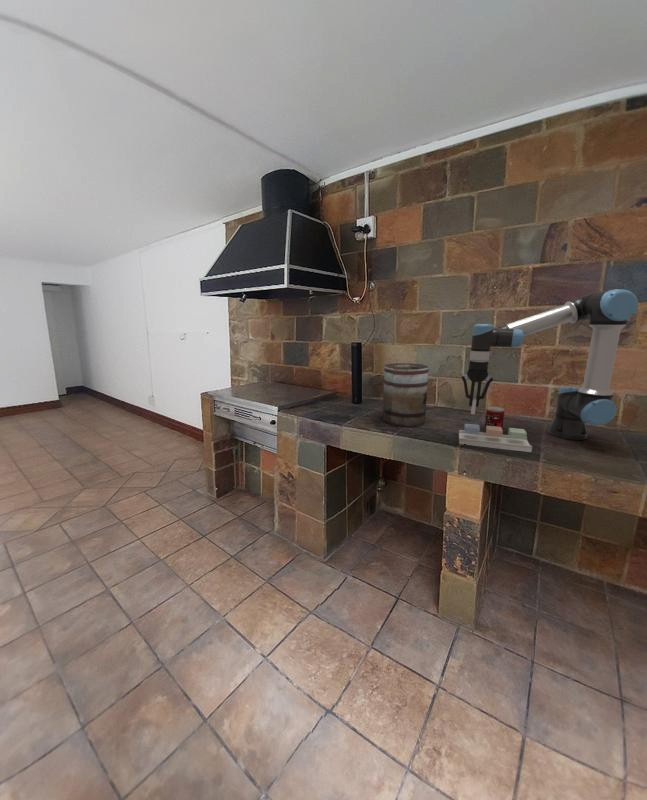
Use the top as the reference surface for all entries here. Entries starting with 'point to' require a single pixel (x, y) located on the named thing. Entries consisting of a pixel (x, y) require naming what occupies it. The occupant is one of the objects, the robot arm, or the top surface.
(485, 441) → the keypad base
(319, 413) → the top surface
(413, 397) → the barrel
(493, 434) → the key
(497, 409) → the canned food
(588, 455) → the top surface
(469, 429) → the key
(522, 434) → the key
